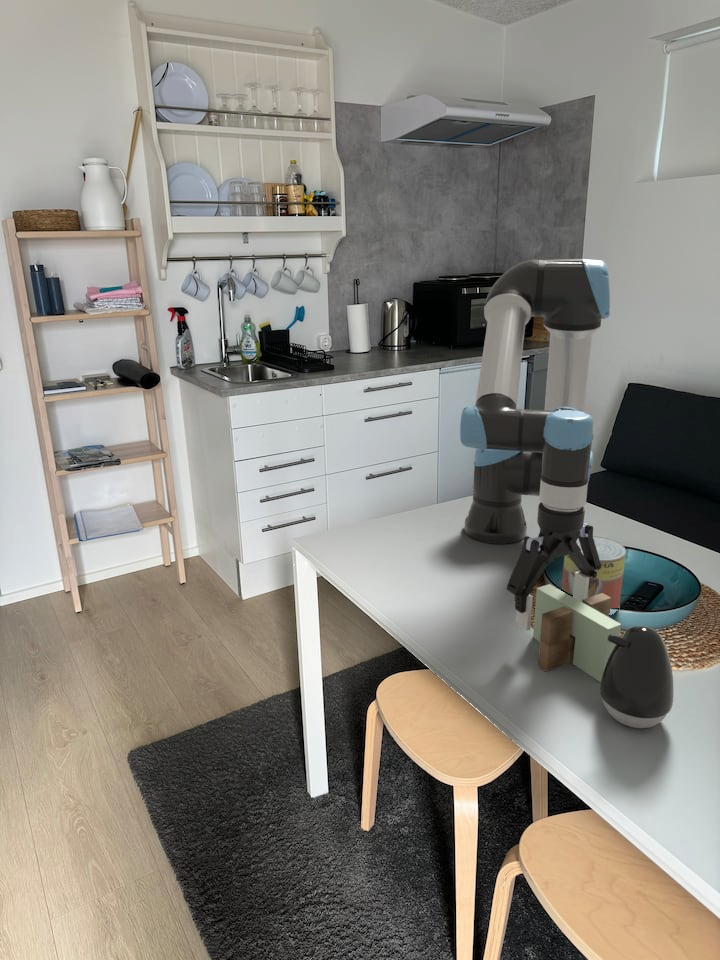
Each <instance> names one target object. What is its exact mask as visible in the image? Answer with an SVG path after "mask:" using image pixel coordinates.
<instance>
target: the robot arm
mask: <svg viewBox="0 0 720 960" xmlns="http://www.w3.org/2000/svg"><path fill="white" fill-rule="evenodd" d="M609 274H610V273H609V267H608V264H607V263H606V262H605V261H604V260H600V259H599V260H598V259H586V258H567V259H565V258H563V259H527V260H524V261H522V262H519V263H517V264H515V265H514V266H512V267H510V268H509V269H507V270H506V271H505V272H504V273H503V274H502V275H501V276H500V277H499V278H498V279H497V280H496V281H495V282H494V284H493V285H492V286H491V289H490V290H489V292H488V294H487V295H486V296H487V297H486V300H485V304H484V310H483V315H484V319H485V320H486V322H487V324H486V331H485V338H484V344H483V351H482V356H481V365H480V370H479V378H478V379H479V380H478V385H477V391H476V399H475V405H473V406H465V407H464V408H463V409H462V412H461V416H460V425H459V427H460V428H459V438H460V443H461V444H462V446H463V447H465V448H470V449H471V448H472V449H475V453H474V460H473V465H474V467H473V468H474V470H473V487H472V488H473V490H472V503H471V505H470V507H469V511H468V513H467V516H466V517H465V519H464V525H463V526H464V533H465V534H466V535H467V536H468V537H470V538H472V539H473V540H476V541H479V542H482V543H487V544H497V545H500V544H504V545H505V544H513V543H516V542H519V541H522V540H523V543H522V549H521V551H520V554H519V557H518V559H517V561H516V563H515V565H514V569H513V571H512V573H511V575H510V578H509V580H508V582H507V584H506V588H505V590H506V591H508V592H509V593H511V594H512V595H514V596H515V603H514V608H515V610H516V619H515V620H516V621H515V624H516V625H517V626H519V627H521V628H522V629H523V630H525V631H530V630H531V623H532V611H533V598H534V595H532V594H531V592H532V591H533V589H534V587H535V586H536V584H537V583H538V581H539V580H540V578H541V576H542V574H543V573H544V572H545V570H546V568H547V567H548V565H551V564H552V563H553V561H554V560H555V559H559V558H561V557H562V556H563V557H564V556H566V555H569V556H570V558H571V559H572V560H573V562H574V563H575V565H576V566H577V568H578V569H579V570H580V571H581V573H580V572H575V577H574V587H573V597H574V598H575V599H577V600H579V601H581V602H582V600H583V599H586V598H587V596H588V590H589V588H590V581H591V577H596V575H597V572H596V571H595V570H600V568H601V563H600V559H599V556H598V552H597V549H596V546H595V542H594V539H593V536H594V526H593V525H591V524H589V523H586V522H584V521H585V514H586V513H585V511H586V509H585V505H586V504H587V495H588V485H589V481H590V478H591V474H592V473H591V472H592V466H593V460H594V453H593V451H592V444H593V440H594V436H595V435H594V418H593V417H592V416H591V415H590V414H588V413H586V412H585V406H586V397H587V396H586V395H587V388H588V387H587V386H588V376H589V368H590V367H589V366H590V358H591V349H592V341H593V340H592V339H593V335H594V333H595V332H597V331H598V330H600V328H601V326H602V325H601V324H602V320H606V319H608V318H610V314H611V313H610V310H611V309H610V308H611V307H610V305H611V300H610V299H611V298H610V297H611V296H610V293H611V292H610V276H609ZM533 317H534V318H543V327H544V328H545V329H546V330H547V332H549V347H548V361H547V375H546V384H545V386H546V387H545V401H544V408H543V409H527V408H526V409H524V408H517V406H518V398H519V388H520V387H519V386H520V378H521V377H520V376H521V369H522V359H523V351H524V349H523V348H524V340H525V330H526V326H527V324H528V323H529V321H530V320H531V318H533ZM522 496H531V497H532V496H533V497H539V498H538V500H539V502H540V503H539V504H538V508H537V520H536V523H537V525H538V527H539V533H538V536H537V537H530V536H528V535H527V533H528V532H527V530H528V525H527V521H526V518H525V514H524V510H523V505H522ZM577 539H579V542H580V545H581V548H582V552H583V554H582V552H581V549H580V547H579V546H578V544H577V542H576V541H577ZM542 553H543V554H542Z"/></svg>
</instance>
